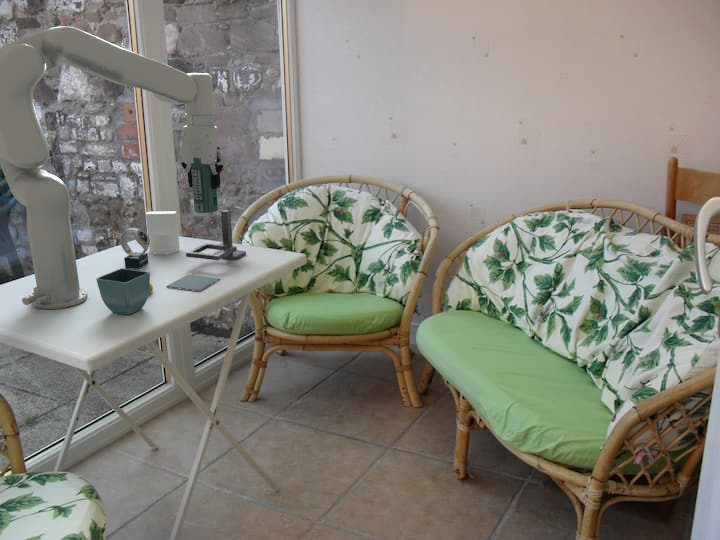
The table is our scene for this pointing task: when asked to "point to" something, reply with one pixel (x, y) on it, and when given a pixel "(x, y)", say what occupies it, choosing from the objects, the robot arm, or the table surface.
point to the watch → (135, 258)
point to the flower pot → (124, 290)
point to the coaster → (193, 282)
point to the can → (203, 188)
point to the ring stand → (224, 248)
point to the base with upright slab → (162, 232)
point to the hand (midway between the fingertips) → (204, 186)
